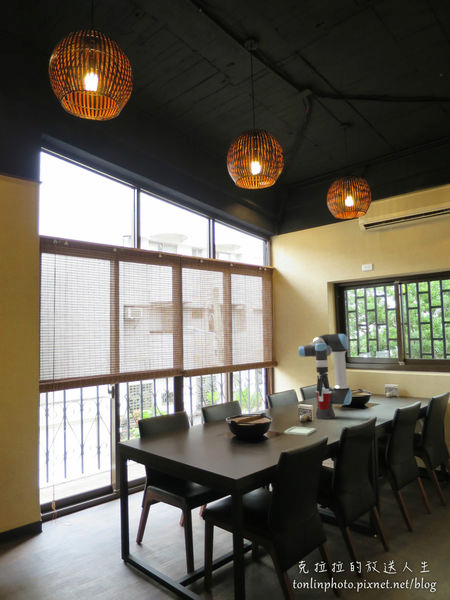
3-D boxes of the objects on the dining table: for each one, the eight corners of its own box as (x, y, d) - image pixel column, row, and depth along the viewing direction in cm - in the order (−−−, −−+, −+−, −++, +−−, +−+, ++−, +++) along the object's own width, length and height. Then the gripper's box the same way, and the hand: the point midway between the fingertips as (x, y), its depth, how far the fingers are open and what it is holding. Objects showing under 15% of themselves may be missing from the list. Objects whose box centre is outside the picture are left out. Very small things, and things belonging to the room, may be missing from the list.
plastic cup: (328, 411, 273) (327, 392, 274) (313, 409, 280) (312, 391, 281) (335, 408, 281) (334, 390, 282) (321, 407, 288) (320, 389, 289)
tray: (293, 428, 297) (293, 426, 297) (315, 430, 288) (315, 428, 288) (284, 433, 283) (284, 431, 283) (307, 435, 275) (306, 433, 275)
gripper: (322, 364, 294) (324, 397, 293) (310, 367, 275) (312, 402, 273) (332, 365, 290) (334, 397, 289) (321, 368, 271) (323, 403, 269)
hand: (323, 399), depth 281 cm, fingers closed on plastic cup, 11 cm apart
